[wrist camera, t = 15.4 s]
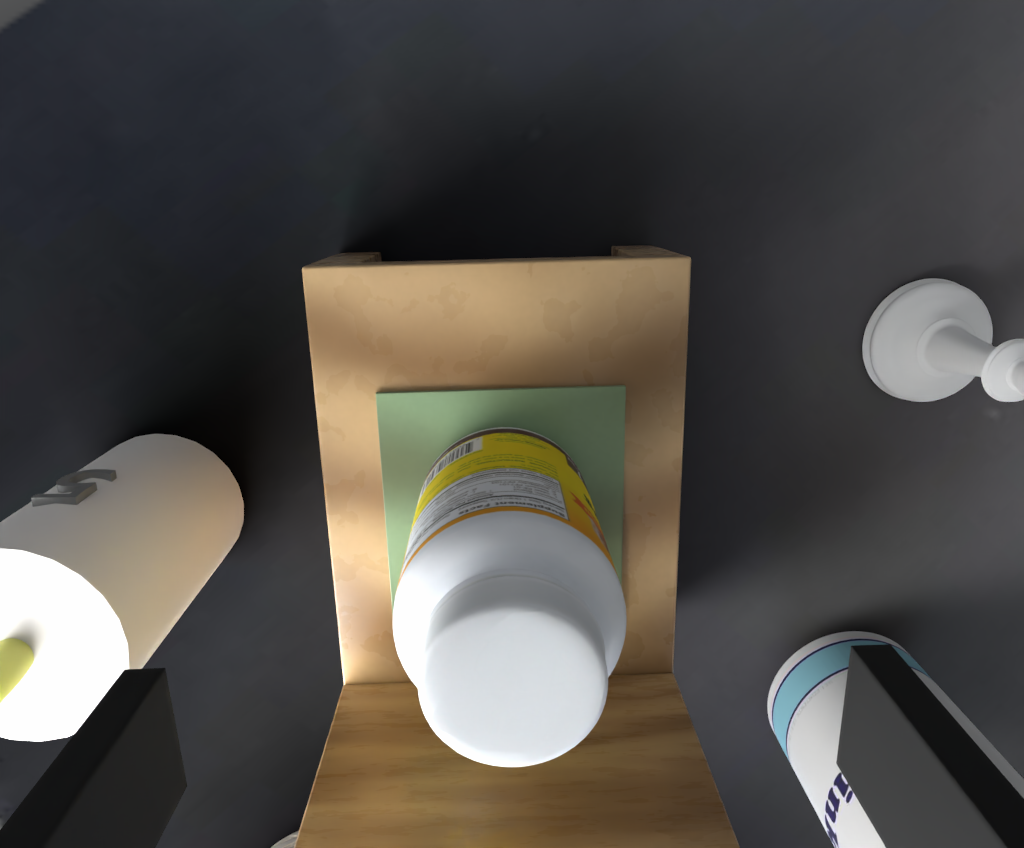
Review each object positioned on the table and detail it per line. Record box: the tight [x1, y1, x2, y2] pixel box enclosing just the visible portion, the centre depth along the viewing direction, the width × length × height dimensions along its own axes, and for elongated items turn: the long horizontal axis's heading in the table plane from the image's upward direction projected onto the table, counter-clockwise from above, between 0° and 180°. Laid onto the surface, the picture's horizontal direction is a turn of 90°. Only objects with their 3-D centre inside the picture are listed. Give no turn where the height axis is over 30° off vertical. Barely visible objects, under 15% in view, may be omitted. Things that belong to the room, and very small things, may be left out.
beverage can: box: [767, 631, 1024, 848], centre depth 29 cm, size 7×7×12 cm
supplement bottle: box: [393, 427, 626, 767], centre depth 20 cm, size 6×6×10 cm
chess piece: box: [862, 278, 1024, 402], centre depth 26 cm, size 5×5×10 cm
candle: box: [0, 433, 244, 742], centre depth 24 cm, size 6×6×15 cm
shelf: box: [294, 245, 740, 848], centre depth 25 cm, size 16×12×14 cm
